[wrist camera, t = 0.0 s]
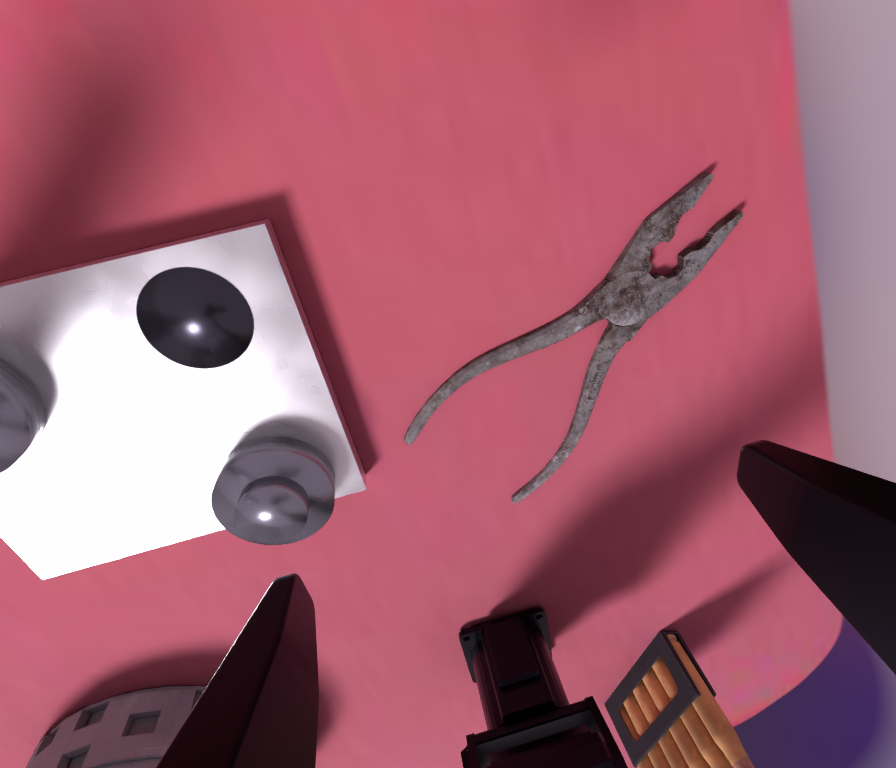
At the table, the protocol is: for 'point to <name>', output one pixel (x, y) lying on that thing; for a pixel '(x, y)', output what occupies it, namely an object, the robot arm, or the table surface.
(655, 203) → the table surface
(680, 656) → the ammunition clip
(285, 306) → the plate
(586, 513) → the table surface
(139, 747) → the ring
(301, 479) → the grey metal knob
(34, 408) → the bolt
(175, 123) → the table surface
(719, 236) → the pliers
